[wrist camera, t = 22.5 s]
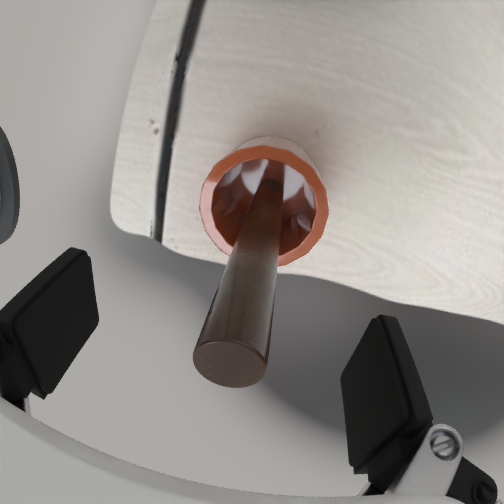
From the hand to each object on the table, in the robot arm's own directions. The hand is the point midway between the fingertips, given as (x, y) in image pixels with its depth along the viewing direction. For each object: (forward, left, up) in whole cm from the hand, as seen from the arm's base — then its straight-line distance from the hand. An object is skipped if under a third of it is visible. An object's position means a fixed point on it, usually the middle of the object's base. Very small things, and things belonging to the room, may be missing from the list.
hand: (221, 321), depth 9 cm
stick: (+1, 0, -17) cm, 17 cm away
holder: (0, 0, -18) cm, 18 cm away
